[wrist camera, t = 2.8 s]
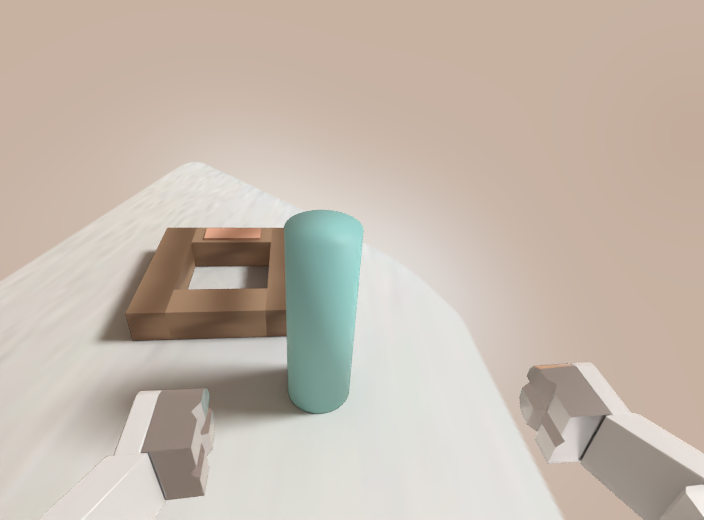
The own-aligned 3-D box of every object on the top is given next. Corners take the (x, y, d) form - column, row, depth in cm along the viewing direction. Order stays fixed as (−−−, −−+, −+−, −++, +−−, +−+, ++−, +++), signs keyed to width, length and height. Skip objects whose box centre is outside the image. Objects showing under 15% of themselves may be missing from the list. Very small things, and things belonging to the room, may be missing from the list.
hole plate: (132, 340, 31) (124, 311, 29) (171, 250, 41) (167, 225, 39) (302, 335, 33) (302, 307, 31) (300, 250, 42) (300, 226, 41)
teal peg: (287, 415, 27) (283, 248, 20) (288, 366, 30) (284, 209, 23) (352, 411, 27) (368, 248, 21) (346, 363, 30) (358, 210, 24)
